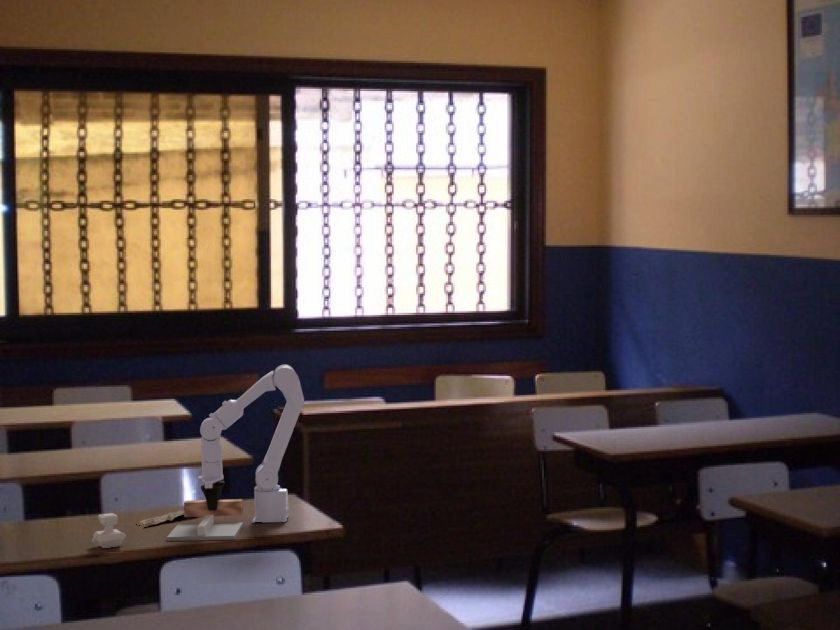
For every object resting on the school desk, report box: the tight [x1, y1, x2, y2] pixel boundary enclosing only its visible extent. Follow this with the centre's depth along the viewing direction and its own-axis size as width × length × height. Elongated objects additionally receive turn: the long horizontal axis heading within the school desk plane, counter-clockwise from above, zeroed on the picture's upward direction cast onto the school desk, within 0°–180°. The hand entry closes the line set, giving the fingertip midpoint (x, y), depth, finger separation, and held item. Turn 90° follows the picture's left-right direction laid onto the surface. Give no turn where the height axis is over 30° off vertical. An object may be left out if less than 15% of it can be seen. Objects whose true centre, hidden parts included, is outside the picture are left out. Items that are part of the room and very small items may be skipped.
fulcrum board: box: [166, 515, 244, 542], centre depth 347 cm, size 18×16×4 cm
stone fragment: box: [138, 509, 184, 528], centre depth 364 cm, size 25×3×10 cm
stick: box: [183, 498, 244, 518], centre depth 359 cm, size 16×3×4 cm, turn 90°
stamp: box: [91, 512, 127, 549], centre depth 334 cm, size 9×7×8 cm
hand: (213, 508), depth 359 cm, fingers closed on stick, 3 cm apart
